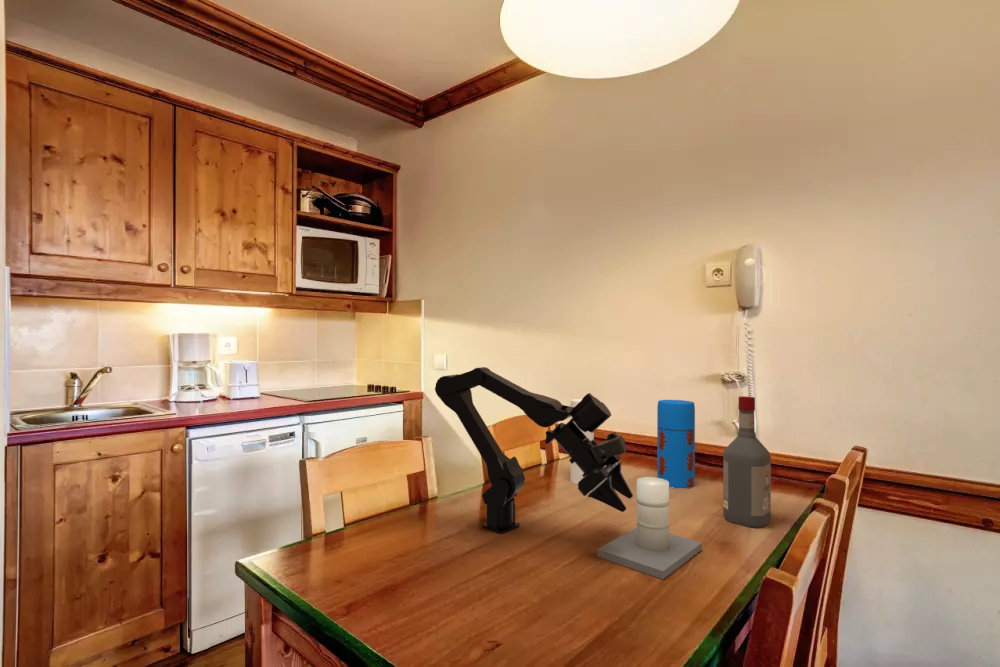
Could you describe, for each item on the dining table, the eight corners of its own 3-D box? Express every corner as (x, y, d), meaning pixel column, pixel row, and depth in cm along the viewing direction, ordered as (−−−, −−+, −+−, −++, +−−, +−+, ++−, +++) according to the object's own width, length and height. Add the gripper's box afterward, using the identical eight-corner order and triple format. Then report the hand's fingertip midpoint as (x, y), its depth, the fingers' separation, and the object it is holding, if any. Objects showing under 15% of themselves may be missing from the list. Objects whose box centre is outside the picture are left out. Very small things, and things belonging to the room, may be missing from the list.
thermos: (649, 481, 156) (649, 400, 156) (675, 477, 160) (676, 399, 161) (675, 490, 146) (675, 404, 146) (702, 486, 150) (702, 403, 151)
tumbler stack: (649, 552, 100) (649, 487, 100) (630, 540, 106) (630, 478, 106) (675, 548, 102) (675, 484, 102) (655, 536, 108) (655, 475, 108)
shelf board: (662, 579, 92) (662, 571, 92) (597, 556, 101) (597, 548, 101) (701, 549, 105) (701, 542, 105) (640, 531, 114) (640, 525, 114)
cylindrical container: (593, 485, 151) (593, 402, 151) (569, 483, 152) (569, 401, 153) (593, 478, 158) (594, 399, 158) (570, 477, 159) (571, 398, 160)
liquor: (773, 520, 122) (773, 397, 122) (760, 530, 116) (760, 400, 116) (734, 511, 129) (734, 394, 129) (720, 520, 122) (720, 397, 123)
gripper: (594, 429, 99) (651, 492, 95) (612, 416, 117) (661, 469, 112) (555, 464, 102) (609, 527, 98) (578, 446, 120) (624, 499, 115)
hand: (628, 503), depth 106 cm, fingers open, 9 cm apart
